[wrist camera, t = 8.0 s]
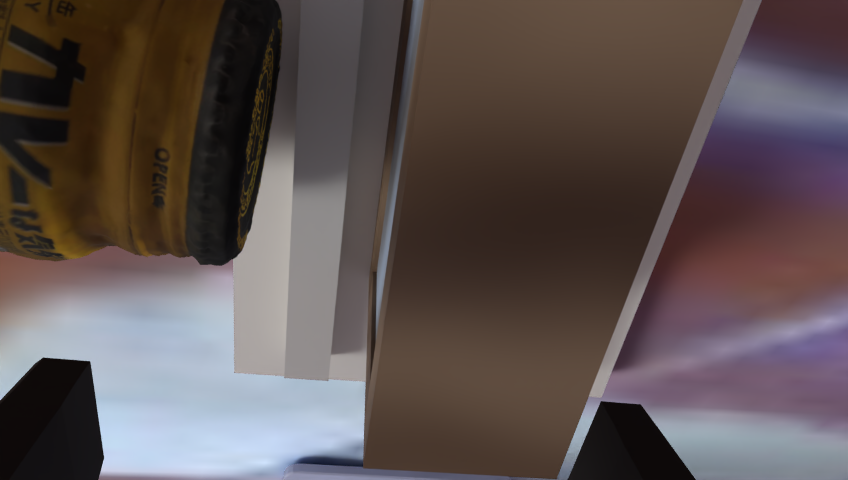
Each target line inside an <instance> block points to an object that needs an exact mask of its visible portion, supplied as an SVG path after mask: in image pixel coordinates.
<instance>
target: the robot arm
mask: <svg viewBox="0 0 848 480" xmlns="http://www.w3.org/2000/svg"><path fill="white" fill-rule="evenodd" d="M103 460H104V455H103V448H102V441H101V433H100V426H99V419H98V412H97V405H96V398H95V391H94V384H93V377H92V370H91V363H90V361H78V360H66V359H53V358H42V359H41V360H39V361H38V362H37V363H35V364H34V365H33V366H32V368H31V369H30V370H29V371H28V372H27V373H26V374H25V375H24V376H23V377H22V378H21V379H20V380H19V381H18V382H17V383H16V384H15V386H14V387H13V388H12V389H11V390H10V391H9V392H8V393H7V394H6V395H5V396H4V397H3V398H2V399H1V400H0V480H98V479H99V475H100V471H101V467H102V464H103ZM283 480H512V479H511V478H510V477H508V476H492V475H474V474H455V473H437V472H419V471H401V470H383V469H365V468H363V467H354V466H336V465H317V464H292V465H290V466H288V467H287V468H286V469H285V471H284V476H283ZM568 480H696V479H695V478H694V477H693V475H692V474H691V472H690V471H689V470H688V468H687V467H686V466H685V464H684V463H683V462H682V460H681V459H680V457H679V456H678V455H677V453H676V452H675V451H674V449H673V448H672V446H671V445H670V444H669V442H668V441H667V440H666V438H665V437H664V436H663V434H662V433H661V431H660V430H659V429H658V427H657V426H656V425H655V423H654V422H653V421H652V419H651V418H650V416H649V415H648V414H647V412H646V411H645V410H644V408H643V407H642V406H641V405H640V404H627V403H615V402H602V401H601V403H600V405H599V407H598V410H597V412H596V414H595V417H594V419H593V422H592V424H591V426H590V429H589V431H588V433H587V436H586V438H585V440H584V443H583V445H582V448H581V450H580V452H579V455H578V457H577V459H576V462H575V464H574V466H573V469H572V471H571V474H570V476H569V478H568Z"/></svg>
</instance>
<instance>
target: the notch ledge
mask: <svg viewBox="0 0 848 480" xmlns="http://www.w3.org/2000/svg"><path fill="white" fill-rule="evenodd" d="M276 1H277V2H278V4H279V7H280V10H281V14H282V33H283V34H282V49H281V58H280V64H279V65H280V71H279V74H278V81H277V91H276V96H275V98H276V100H275V103H274V112H273V119H272V124H271V129H270V135H269V141H268V146H267V153H266V156H265V162H264V167H263V172H262V177H261V184H260V188H259V193H258V197H257V202H256V205H255V208H254V214H253V218H252V225H251V230H250V231H249V233H248V235H247V240H246V241H245V244H244V248H243V249H242V251H241V253H240V254H238V256H237V257H236V258H234V259H233V279H234V373H245V374H260V375H275V376H284V378H294V379H309V380H323V381H328V380H329V379H334V380H349V381H364V382H366V358H367V325H368V292H369V274H370V266H371V258H372V250H373V242H374V234H375V226H376V218H377V210H378V202H379V194H380V186H381V179H382V171H383V163H384V155H385V147H386V139H387V131H388V123H389V115H390V107H391V99H392V91H393V83H394V75H395V67H396V59H397V51H398V43H399V35H400V27H401V19H402V11H403V3H404V0H276ZM761 1H762V0H743V2H742V5H741V7H740V10H739V13H738V15H737V18H736V20H735V23H734V25H733V28H732V30H731V33H730V36H729V38H728V41H727V43H726V46H725V48H724V51H723V54H722V56H721V59H720V61H719V64H718V66H717V69H716V71H715V74H714V77H713V79H712V82H711V84H710V87H709V89H708V92H707V95H706V97H705V100H704V102H703V105H702V107H701V110H700V112H699V115H698V118H697V120H696V123H695V125H694V128H693V130H692V133H691V136H690V138H689V141H688V143H687V146H686V148H685V151H684V153H683V156H682V159H681V161H680V164H679V166H678V169H677V171H676V174H675V177H674V179H673V182H672V184H671V187H670V189H669V192H668V194H667V197H666V200H665V202H664V205H663V207H662V210H661V212H660V215H659V218H658V220H657V223H656V225H655V228H654V230H653V233H652V235H651V238H650V241H649V243H648V246H647V248H646V251H645V253H644V256H643V259H642V261H641V264H640V266H639V269H638V271H637V274H636V276H635V279H634V282H633V284H632V287H631V289H630V292H629V294H628V297H627V299H626V302H625V305H624V307H623V310H622V312H621V315H620V317H619V320H618V323H617V325H616V328H615V330H614V333H613V335H612V338H611V340H610V343H609V346H608V348H607V351H606V353H605V356H604V358H603V361H602V364H601V366H600V369H599V371H598V374H597V376H596V379H595V381H594V384H593V387H592V389H591V392H590V394H589V397H600V398H601V397H602V395H603V392H604V390H605V387H606V385H607V382H608V380H609V377H610V375H611V372H612V370H613V367H614V365H615V363H616V360H617V358H618V355H619V353H620V350H621V348H622V345H623V343H624V340H625V338H626V335H627V333H628V330H629V328H630V325H631V323H632V320H633V318H634V315H635V313H636V311H637V308H638V306H639V303H640V301H641V298H642V296H643V293H644V291H645V288H646V286H647V283H648V281H649V278H650V276H651V273H652V271H653V268H654V266H655V264H656V261H657V259H658V256H659V254H660V251H661V249H662V246H663V244H664V241H665V239H666V236H667V234H668V231H669V229H670V226H671V224H672V221H673V219H674V216H675V214H676V212H677V209H678V207H679V204H680V202H681V199H682V197H683V194H684V192H685V189H686V187H687V184H688V182H689V179H690V177H691V174H692V172H693V169H694V167H695V165H696V162H697V160H698V157H699V155H700V152H701V150H702V147H703V145H704V142H705V140H706V137H707V135H708V132H709V130H710V127H711V125H712V122H713V120H714V117H715V115H716V113H717V110H718V108H719V105H720V103H721V100H722V98H723V95H724V93H725V90H726V88H727V85H728V83H729V80H730V78H731V75H732V73H733V70H734V68H735V66H736V63H737V61H738V58H739V56H740V53H741V51H742V48H743V46H744V43H745V41H746V38H747V36H748V33H749V31H750V28H751V26H752V23H753V21H754V18H755V16H756V14H757V11H758V9H759V6H760V4H761Z"/></svg>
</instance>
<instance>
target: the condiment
mask: <svg viewBox="0 0 848 480" xmlns="http://www.w3.org/2000/svg"><path fill="white" fill-rule="evenodd" d="M282 34H283V33H282V14H281V10H280V7H279V4H278V2H277V1H276V0H0V251H2V252H5V251H6V252H10V253H14V254H16V255H19V256H23V257H27V258H32V259H37V260H51V261H61V260H67V259H75V258H81V257H83V256H86V255H89V254H91V253H92V252H94V251H97V250H100V249H102V248H104V247H106V246H118V247H120V248H122V249H124V250H126V251H128V252H131V253H133V254H135V255H143V256H146V257H148V256H152V255H156V256H160V255H166V254H168V253H170V254H172V255H174V256H176V257H179V258H181V257H186V256H187V257H190V256H193V257H194V258H195V259H196V260H197V261H198V262H199V264H200V265H208V264H211V265H219V266H222V265H224V264H226V263H228V262H229V261H230V260H231V259H234V258H236V257H237V256H238V254H240V253H241V251H242V249H243V248H244V244H245V241H246V240H247V235H248V233H249V231H250V230H251V225H252V218H253V214H254V208H255V205H256V202H257V197H258V193H259V188H260V184H261V177H262V172H263V167H264V162H265V156H266V153H267V146H268V141H269V135H270V129H271V124H272V119H273V112H274V103H275V100H276V98H275V96H276V91H277V81H278V74H279V71H280V65H279V64H280V58H281V49H282Z"/></svg>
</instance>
